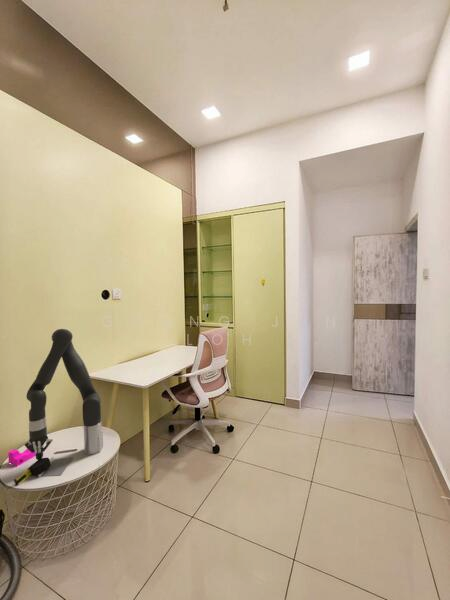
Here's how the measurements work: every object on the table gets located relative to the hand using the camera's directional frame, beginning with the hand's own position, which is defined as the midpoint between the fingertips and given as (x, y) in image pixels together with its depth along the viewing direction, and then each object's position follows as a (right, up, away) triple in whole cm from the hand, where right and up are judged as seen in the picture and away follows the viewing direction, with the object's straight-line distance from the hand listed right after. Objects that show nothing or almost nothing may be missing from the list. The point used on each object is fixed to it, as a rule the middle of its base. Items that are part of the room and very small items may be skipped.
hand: (39, 458), depth 140 cm
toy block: (-14, -6, +10) cm, 18 cm away
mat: (+8, -5, +1) cm, 10 cm away
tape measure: (-2, -3, -5) cm, 7 cm away
